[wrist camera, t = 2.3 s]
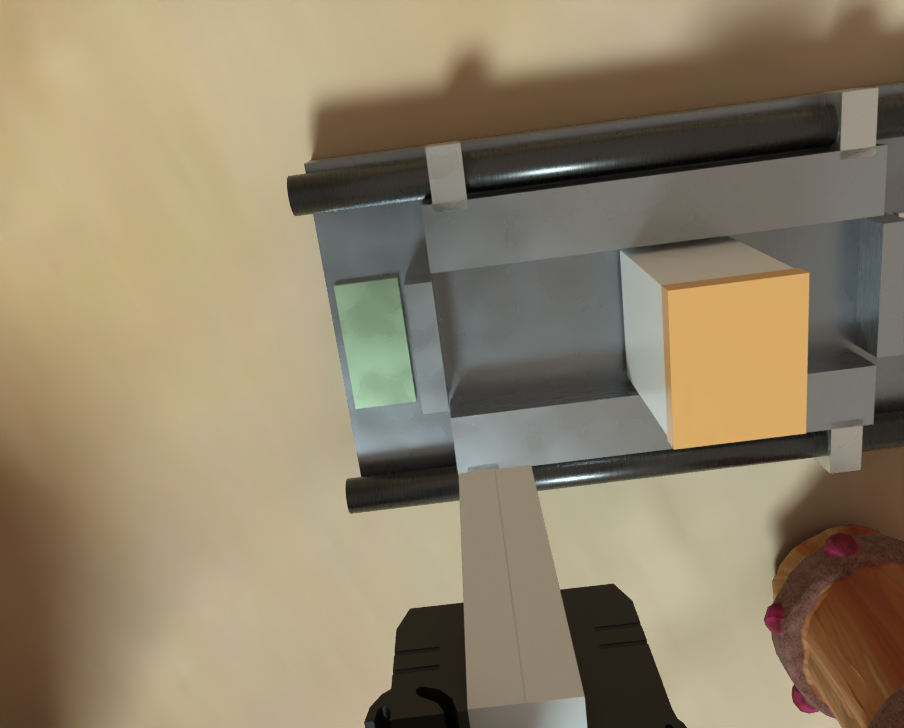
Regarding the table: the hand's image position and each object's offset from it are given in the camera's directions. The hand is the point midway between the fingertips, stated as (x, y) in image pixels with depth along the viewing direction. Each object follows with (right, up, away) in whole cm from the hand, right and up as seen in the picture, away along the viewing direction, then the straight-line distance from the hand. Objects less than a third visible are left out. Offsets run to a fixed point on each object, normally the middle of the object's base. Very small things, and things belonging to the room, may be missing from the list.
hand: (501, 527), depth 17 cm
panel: (+6, +6, +15) cm, 17 cm away
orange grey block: (+7, +6, +14) cm, 17 cm away
